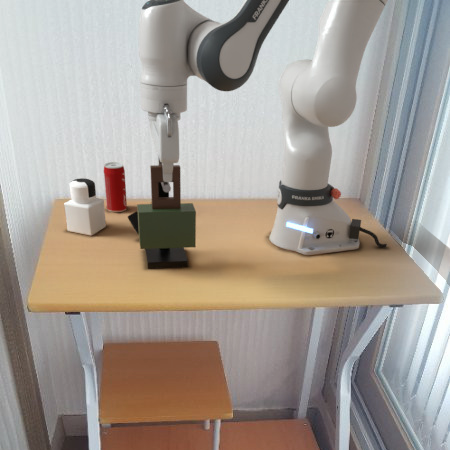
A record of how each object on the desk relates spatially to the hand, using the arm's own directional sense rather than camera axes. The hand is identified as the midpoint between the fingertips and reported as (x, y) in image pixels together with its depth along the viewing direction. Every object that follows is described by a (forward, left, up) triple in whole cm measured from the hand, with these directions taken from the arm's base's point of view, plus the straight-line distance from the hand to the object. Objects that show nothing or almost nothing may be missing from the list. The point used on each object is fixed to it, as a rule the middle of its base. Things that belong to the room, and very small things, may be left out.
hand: (165, 174), depth 120 cm
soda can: (+10, -38, -21) cm, 44 cm away
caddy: (0, 0, -15) cm, 15 cm away
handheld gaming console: (+1, -19, -21) cm, 28 cm away
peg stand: (0, -3, -20) cm, 21 cm away
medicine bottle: (+18, -24, -21) cm, 36 cm away
